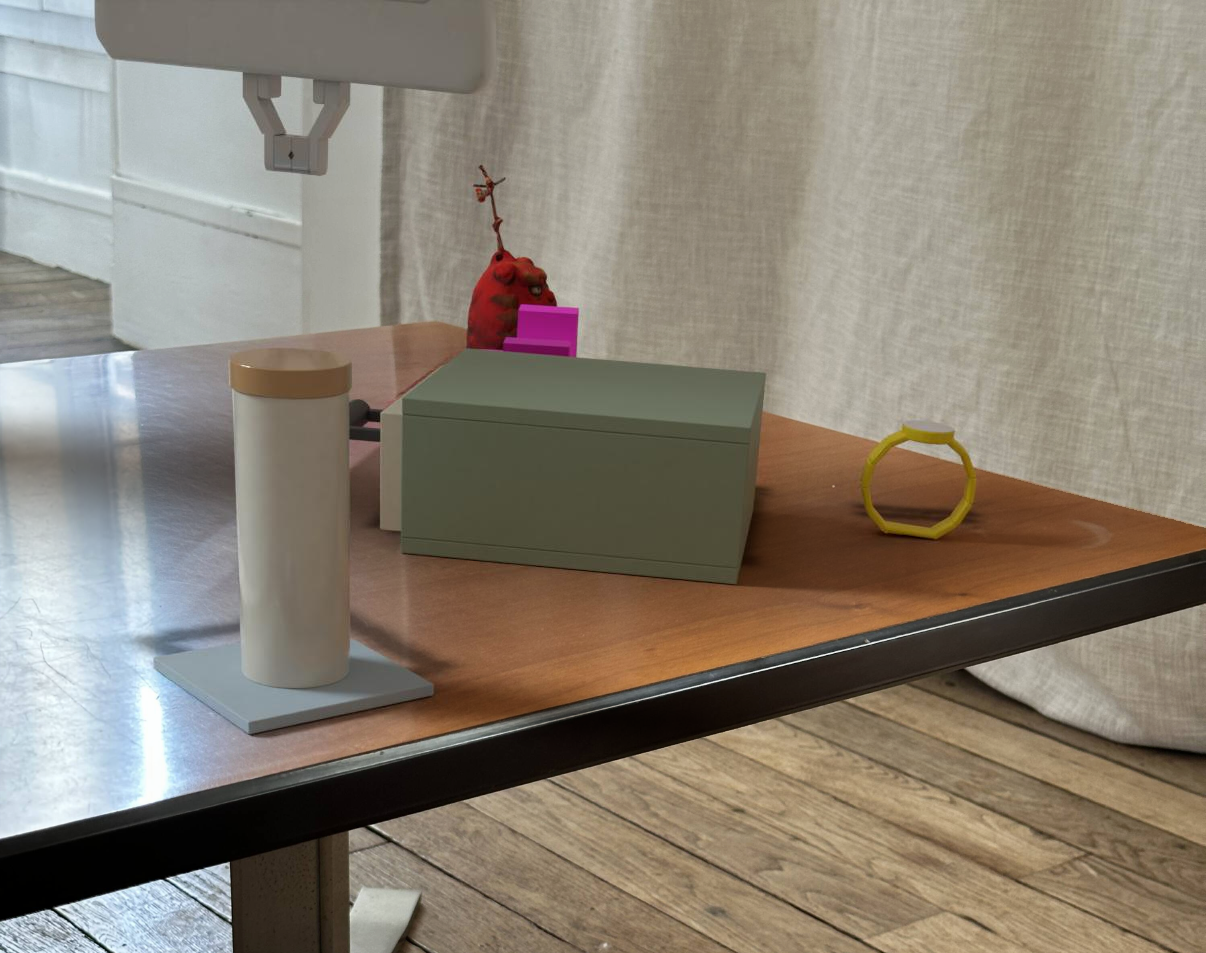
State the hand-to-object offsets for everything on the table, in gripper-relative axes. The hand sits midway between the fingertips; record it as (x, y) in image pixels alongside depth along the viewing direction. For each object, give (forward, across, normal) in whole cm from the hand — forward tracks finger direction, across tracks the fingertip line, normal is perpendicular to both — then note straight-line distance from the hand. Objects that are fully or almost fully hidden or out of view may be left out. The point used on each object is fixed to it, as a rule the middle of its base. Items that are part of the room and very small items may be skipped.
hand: (296, 172), depth 89 cm
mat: (+16, -10, +31) cm, 36 cm away
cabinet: (+16, -18, +5) cm, 24 cm away
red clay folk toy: (+16, -6, -32) cm, 37 cm away
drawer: (+15, -14, +5) cm, 21 cm away
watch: (+15, -34, 0) cm, 38 cm away
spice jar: (+15, -10, +31) cm, 36 cm away
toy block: (+16, -10, -13) cm, 23 cm away
